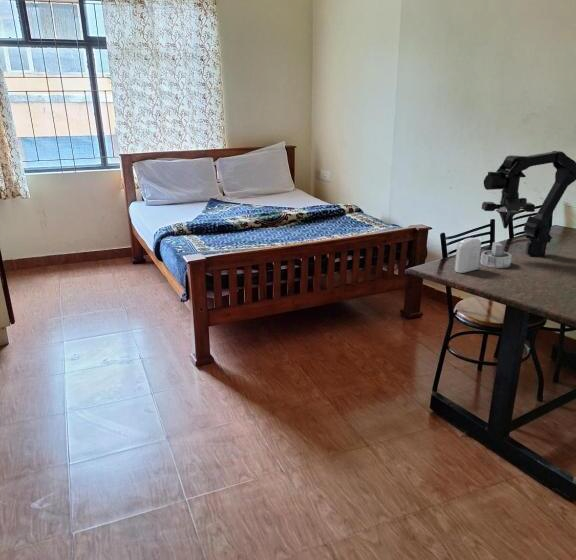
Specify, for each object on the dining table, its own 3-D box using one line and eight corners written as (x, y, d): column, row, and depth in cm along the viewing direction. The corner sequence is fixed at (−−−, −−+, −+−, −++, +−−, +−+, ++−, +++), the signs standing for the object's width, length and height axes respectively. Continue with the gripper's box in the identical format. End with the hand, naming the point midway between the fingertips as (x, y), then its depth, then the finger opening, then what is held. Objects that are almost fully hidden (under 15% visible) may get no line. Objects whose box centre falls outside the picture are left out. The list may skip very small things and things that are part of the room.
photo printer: (470, 266, 192) (473, 235, 188) (479, 269, 188) (483, 237, 184) (452, 271, 186) (455, 238, 183) (461, 274, 183) (465, 241, 179)
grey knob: (502, 256, 198) (504, 241, 196) (507, 261, 191) (510, 246, 189) (484, 256, 198) (486, 241, 196) (488, 261, 192) (490, 245, 190)
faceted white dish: (505, 260, 200) (506, 250, 199) (513, 268, 190) (514, 258, 189) (477, 259, 201) (478, 249, 200) (484, 267, 191) (485, 257, 190)
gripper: (491, 191, 189) (485, 232, 194) (543, 192, 187) (536, 233, 192) (483, 187, 199) (479, 226, 204) (532, 188, 197) (526, 227, 202)
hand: (505, 228), depth 200 cm, fingers closed
